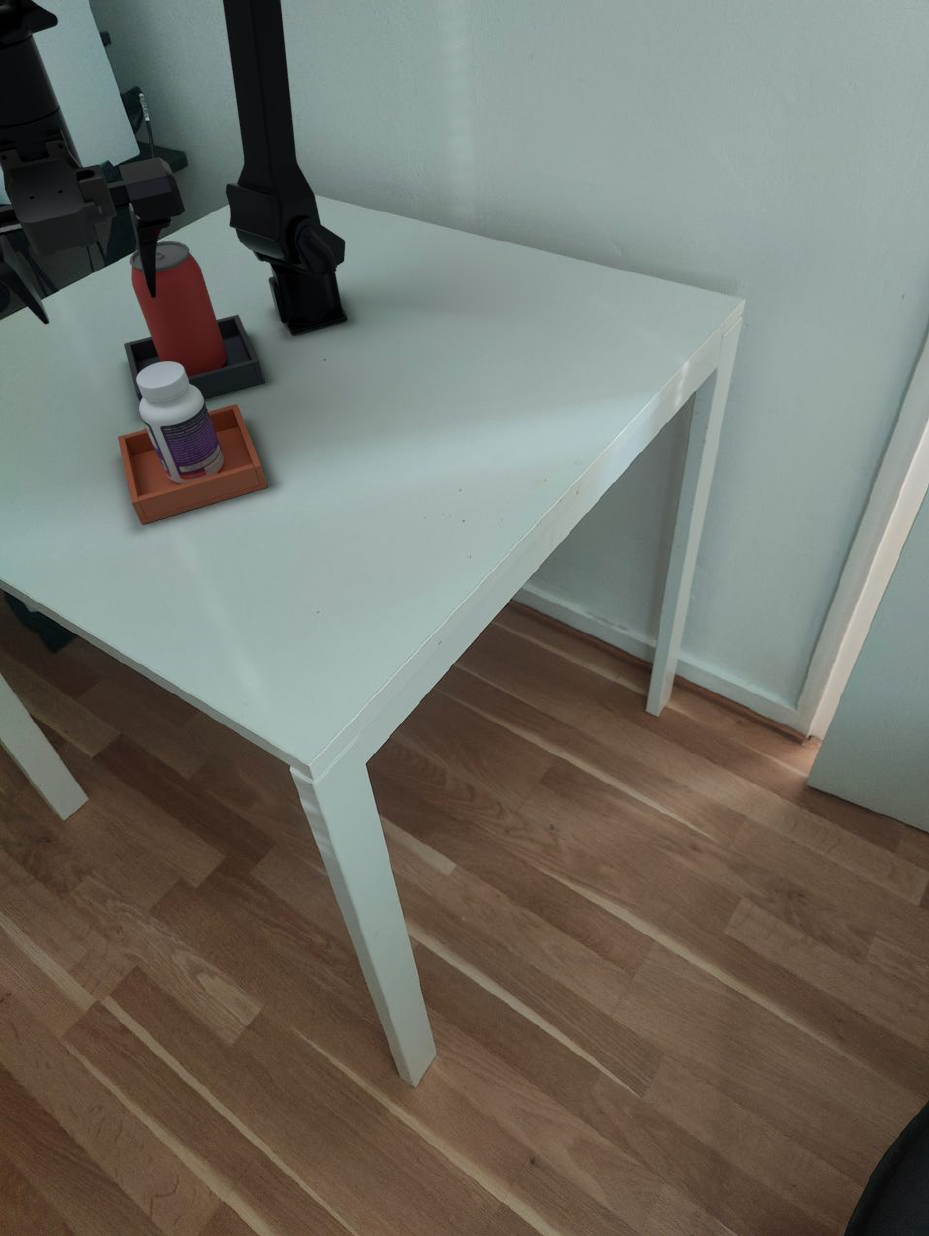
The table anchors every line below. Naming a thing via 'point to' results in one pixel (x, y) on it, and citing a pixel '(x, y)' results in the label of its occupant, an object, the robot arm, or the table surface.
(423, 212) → the table surface
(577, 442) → the table surface
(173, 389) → the pill bottle
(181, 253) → the beer can
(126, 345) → the can tray
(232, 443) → the tray
